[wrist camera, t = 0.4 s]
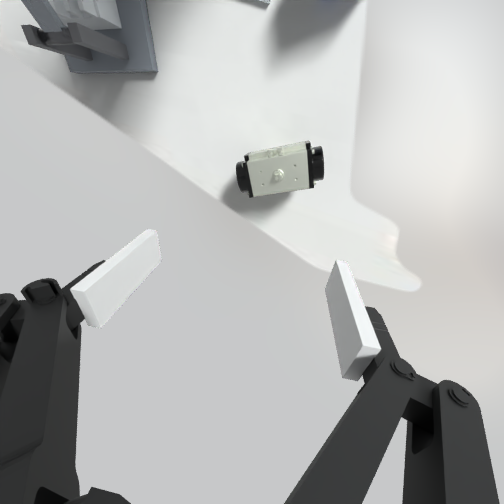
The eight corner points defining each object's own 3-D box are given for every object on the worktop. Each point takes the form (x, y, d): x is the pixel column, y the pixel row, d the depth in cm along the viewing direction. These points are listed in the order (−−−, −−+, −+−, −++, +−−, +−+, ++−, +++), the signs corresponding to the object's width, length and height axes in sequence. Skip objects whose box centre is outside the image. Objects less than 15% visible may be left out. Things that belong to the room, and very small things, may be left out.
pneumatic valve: (316, 169, 37) (326, 188, 27) (251, 181, 40) (238, 201, 29) (315, 134, 34) (325, 139, 24) (245, 148, 37) (228, 159, 27)
